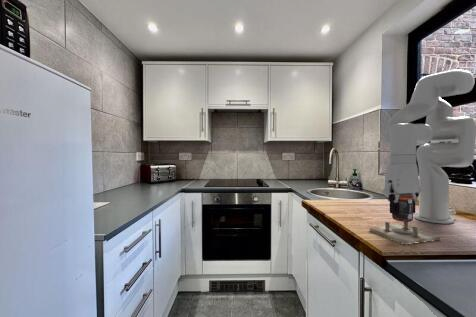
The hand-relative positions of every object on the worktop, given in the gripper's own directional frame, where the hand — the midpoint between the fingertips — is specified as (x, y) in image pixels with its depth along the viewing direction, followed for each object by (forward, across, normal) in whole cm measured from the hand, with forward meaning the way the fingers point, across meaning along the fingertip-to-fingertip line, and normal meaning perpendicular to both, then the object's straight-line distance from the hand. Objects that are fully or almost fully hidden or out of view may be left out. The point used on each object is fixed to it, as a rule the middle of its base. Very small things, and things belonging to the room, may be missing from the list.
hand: (402, 212), depth 82 cm
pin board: (+8, 0, 0) cm, 8 cm away
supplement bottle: (+3, 0, 0) cm, 3 cm away
